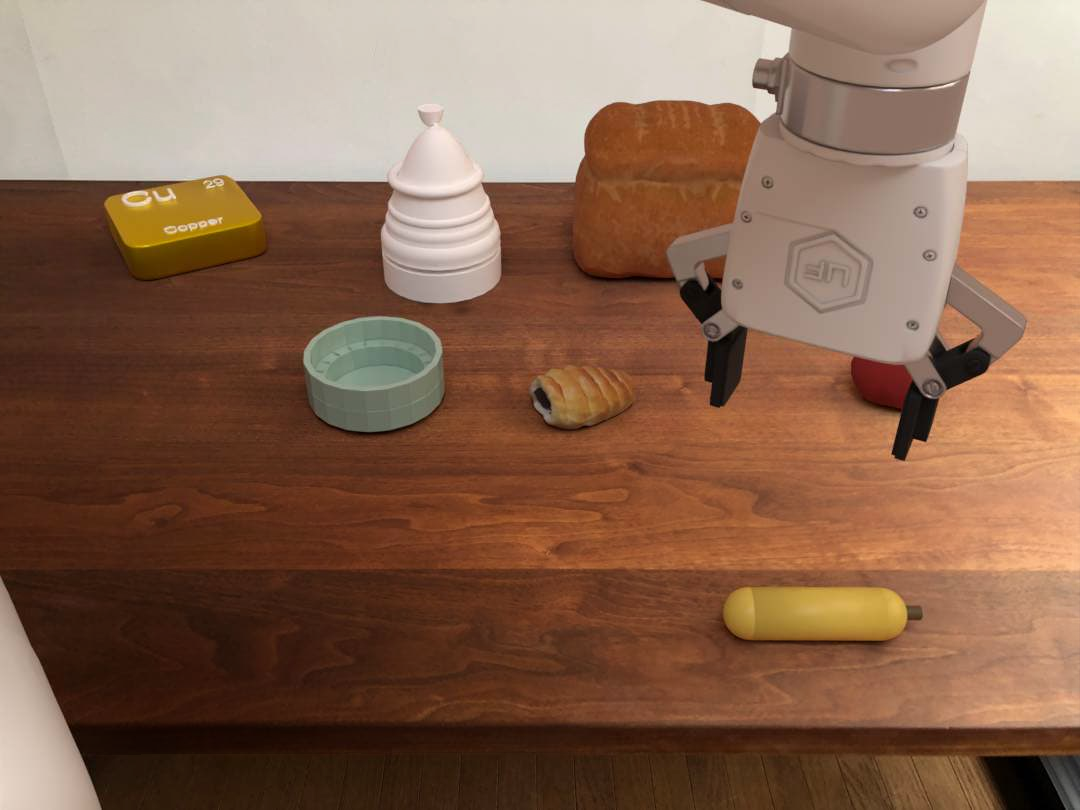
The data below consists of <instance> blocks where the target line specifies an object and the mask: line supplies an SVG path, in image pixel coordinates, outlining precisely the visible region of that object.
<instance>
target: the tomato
mask: <svg viewBox="0 0 1080 810" xmlns="http://www.w3.org/2000/svg"><path fill="white" fill-rule="evenodd" d="M850 376H851V379H852V382H853V384H854V386H855V388H856V390H857V391H858V393H859V394H860V395H861V396H862V397H863V398H864V399H866V400H868V401H870V402H872V403H875V404H879V405H882V406H883V405H884V406H888V407H892V408H896V409H901V410H902V408H903V404H904V400H905V396H906V394H907V391H908V389H909V386H910V384H911V382H912V377H911V376H910V374H909V372H908V371H907V369H906V368H905V366H904V365H893V364H885V363H880V362H875V361H871V360H867V359H862V358H858V357H854V356H852V359H851V361H850Z"/></svg>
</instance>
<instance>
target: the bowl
mask: <svg viewBox="0 0 1080 810" xmlns="http://www.w3.org/2000/svg"><path fill="white" fill-rule="evenodd" d="M302 365H303V371H304V377H305V378H304V379H305V383H306V385H305V386H306V392H307V397H308V404H309V406H310V407H311V409H312V411H313V412H314V415H316V416H317V417H318V418H320V419H321V420H322V421H324V422H325V423H326V424H328V425H330V426H333V427H337V428H339V429H342V430H345V431H353V432H363V433H376V432H386V431H393V430H396V429H399V428H403V427H406V426H410V425H413V424H415V423H416V422H418V421H421V420H423V419H424V418H426V417H428V416H429V415H430V414H431V413H432V412H433V411H435V409H437V407H438V406H439V405H440V404H441V402H442V399H443V397H444V395H445V392H446V389H445V387H446V385H445V371H444V369H445V367H444V352H443V345H442V340H441V339H440V337H439V336H438V335H437V334H436V333H435V331H433V330H432V329H431V328H429V327H427V326H425V325H424V324H422V323H420V322H418V321H414V320H412V319H407V318H404V317H396V316H386V315H385V316H384V315H378V316H377V315H376V316H365V317H357V318H354V319H349V320H345V321H341V322H339V323H336V324H334V325H332V326H330V327H327V328H325V329H323V330H321V331H320V332H319V333H318V334H317V335H315V336H314V337H312V338H311V339H310V341H309V343H308V344H307V345H306V347H305V349H304V350H303V362H302Z"/></svg>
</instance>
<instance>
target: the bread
mask: <svg viewBox="0 0 1080 810" xmlns="http://www.w3.org/2000/svg"><path fill="white" fill-rule="evenodd" d="M761 123H762V122H760V119H758V118H757V116H755V115H754V114H753V113H752V112H751V111H750V110H748V109H747V108H746V107H744V106H741V105H739V104H736V103H732V102H720V103H714V104H707V103H704V102H700V101H695V100H685V99H684V100H682V99H681V100H680V99H679V100H678V99H677V100H676V99H675V100H674V99H673V100H672V99H665V100H664V99H658V100H657V99H656V100H651V101H646V102H642V103H630V102H627V101H615V102H612V103H609V104H606V105H605V106H603V107H602V108H600V109H599V110H598V111H597V112H596V113H595V114H594V115H593V116H592V117H591V119H589V122H588V123H587V125H586V128H585V131H584V135H583V144H584V145H583V149H584V150H583V151H584V156H583V157H582V160H580V162H579V165H578V168H577V172H576V175H575V183H574V192H573V212H572V249H573V257H574V260H575V262H576V263H577V266H578V267H579V268H580V269H581V270H582V271H583V272H584V273H586V274H588V275H590V276H593V277H599V278H605V279H606V278H607V279H608V278H609V279H626V278H630V277H645V278H655V279H657V278H659V279H670V278H671V279H672V278H675V277H674V274H673V272H672V269H671V267H670V264H669V262H668V260H667V257H666V250H667V249H668V247H669V246H670V245H671V244H672V243H673V242H674V241H675V240H676V239H677V238H678V237H681V236H685V235H689V234H692V233H696V232H700V231H704V230H707V229H711V228H715V227H719V226H723V225H726V224H730V223H733V222H734V217H735V212H736V208H737V203H738V199H739V194H740V190H741V186H742V182H743V178H744V174H745V170H746V167H747V163H748V160H749V156H750V153H751V150H752V146H753V144H754V141H755V138H756V135H757V132H758V129H759V127H760V124H761ZM726 257H727V256H723V257H719V258H715V259H711V260H707V261H703V263H704V266H705V268H704V269H705V272H706V273H708V274H709V275H710V276H711V278H712V279H723V275H724V268H725V262H726Z"/></svg>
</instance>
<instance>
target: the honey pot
mask: <svg viewBox="0 0 1080 810" xmlns="http://www.w3.org/2000/svg"><path fill="white" fill-rule="evenodd" d="M417 111H418V117H419V118H420V120H421V122H422V123H423V124H424V125H425V126H426V127H427V128H424V129H423V130H422V131H421V132H420V133H419V134H418V135H417V136H416V138H415V139H414V140H413V142H412V144H411V146H410V147H409V149H408V151H407V153H406V155H405V157H404V159H402V160H401V161H398V162H396V163H395V164H393V165H392V166H391V167H390V168H389V170H388V172H387V174H386V180H387V183H388V185H389V186H390V187H391V189H392V190H393V191H392V194H391V197H390V198H389V200H388V202H387V211H386V213H385V217H384V218H385V219H384V220H385V221H384V223H383V225H382V227H381V230H380V242H381V252H382V253H381V254H382V267H383V277H384V282H385V284H386V286H387V288H388V289H389V290H391V291H392V292H393V293H394V294H396V295H397V296H400V297H402V298H405V299H406V300H407V299H408V300H411V301H415V302H421V303H428V304H449V303H459V302H462V301H463V302H464V301H467V300H472V299H474V298H477V297H480V296H483V295H484V294H486V293H488V292H489V291H491V290H493V289H494V288H495V287H496V285H497V284H498V283H499V282H500V280H501V276H502V247H501V243H502V242H501V234H502V233H501V230H500V225H499V222H498V221H497V219H496V218H495V215H494V211H493V208H492V207H491V201H490V197H489V195H488V194H487V193H486V191H485V189H484V187H483V184H482V183H483V180H484V177H485V176H484V175H485V174H484V171H483V170H484V169H483V167H481V165H480V164H478V162H476V161H474V160H472V159H471V158H470V157H469V155H468V153H467V151H466V150H465V148H464V146H463V145H462V143H461V142H460V141H459V140H458V138H457V137H456V136H455V135H454V134H453V133H452V132H451V131H449V130H448V129H447V128H445V127H443V126H441V125H440V122H441V121H442V119H443V116H444V106H443V105H441V104H438V103H425V104H421V105H419V106H418V107H417Z"/></svg>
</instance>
